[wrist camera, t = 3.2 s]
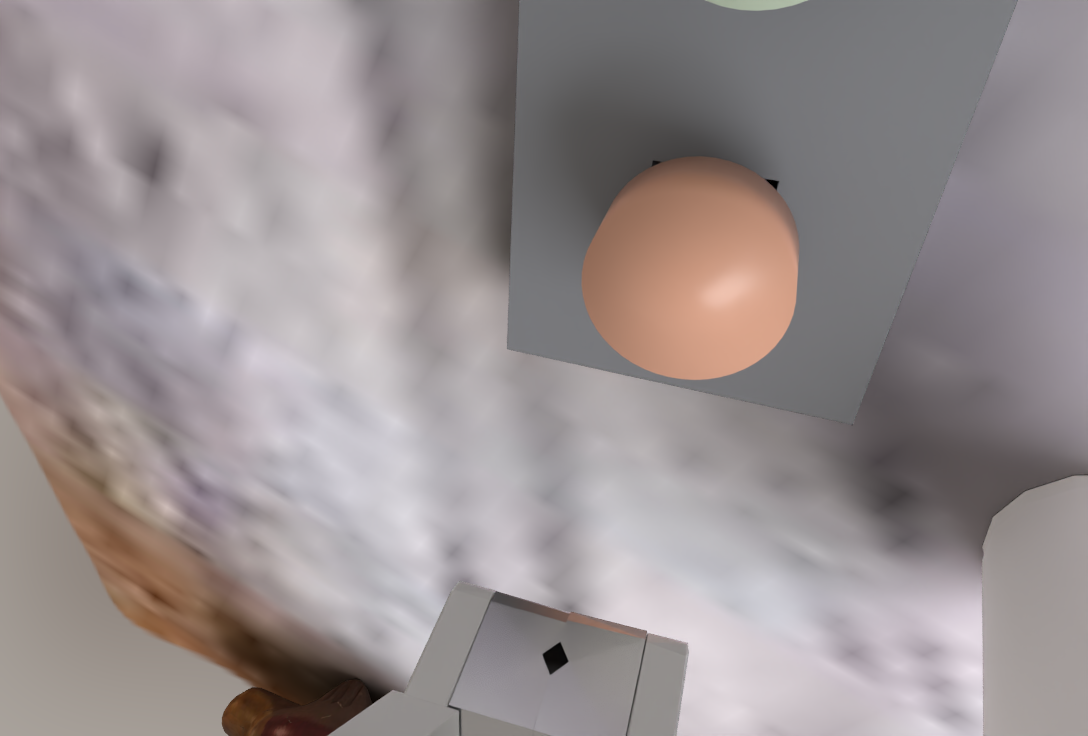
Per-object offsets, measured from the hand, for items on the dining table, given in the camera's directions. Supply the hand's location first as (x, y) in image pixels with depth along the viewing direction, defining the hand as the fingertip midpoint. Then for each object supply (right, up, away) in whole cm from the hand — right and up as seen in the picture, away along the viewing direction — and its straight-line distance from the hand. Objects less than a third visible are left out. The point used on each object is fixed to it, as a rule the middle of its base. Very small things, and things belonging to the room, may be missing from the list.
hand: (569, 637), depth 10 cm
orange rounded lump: (+4, +8, +11) cm, 14 cm away
